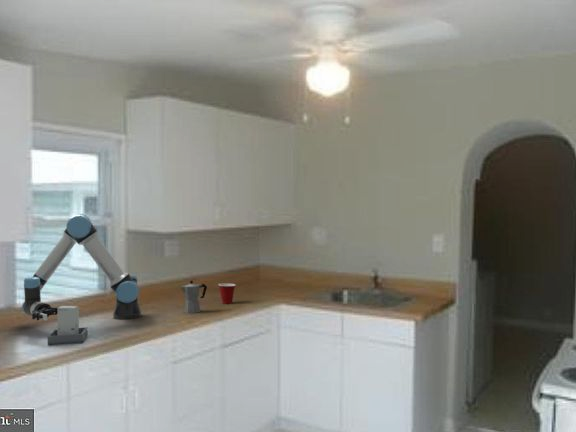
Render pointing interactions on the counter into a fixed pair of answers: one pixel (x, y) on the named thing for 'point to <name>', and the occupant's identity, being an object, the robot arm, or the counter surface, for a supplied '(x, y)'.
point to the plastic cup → (227, 292)
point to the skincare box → (68, 320)
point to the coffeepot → (193, 297)
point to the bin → (68, 337)
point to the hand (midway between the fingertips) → (60, 315)
